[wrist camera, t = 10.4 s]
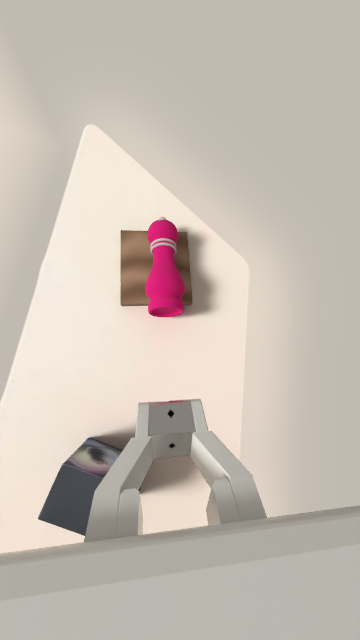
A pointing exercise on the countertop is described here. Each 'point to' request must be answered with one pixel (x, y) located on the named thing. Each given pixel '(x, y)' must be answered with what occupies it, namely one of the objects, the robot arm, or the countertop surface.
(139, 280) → the walnut board
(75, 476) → the small box
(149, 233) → the pepper mill
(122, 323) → the countertop surface
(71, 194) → the countertop surface
